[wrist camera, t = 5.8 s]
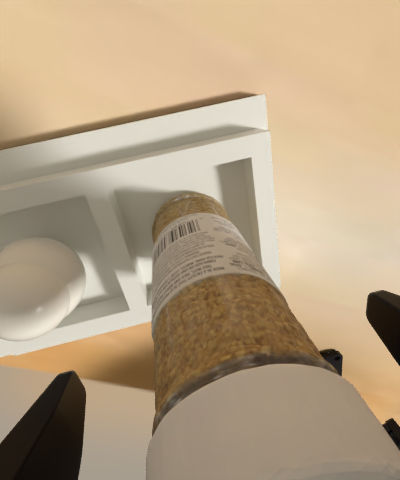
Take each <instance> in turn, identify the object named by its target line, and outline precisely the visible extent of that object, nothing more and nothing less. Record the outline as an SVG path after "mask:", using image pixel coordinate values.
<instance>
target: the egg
mask: <svg viewBox="0 0 400 480" xmlns="http://www.w3.org/2000/svg"><path fill="white" fill-rule="evenodd" d="M85 287H86V271H85V267H84V265H83V262H82V260H81V259H80V257H79V256H78V254H77V253H76V252H75V251H74V250H73V249H72V248H70V247H69V246H68V245H66V244H64V243H62V242H60V241H58V240H55V239H52V238H46V237H30V238H24V239H20V240H17V241H15V242H13V243H10V244H8V245H7V246H5V247H4V248H2V249H1V250H0V339H3V340H7V341H14V342H22V341H29V340H33V339H36V338H39V337H41V336H44V335H45V334H47V333H49V332H50V331H52V330H53V329H54V328H55V327H57V326H58V325H59V324H60V322H61V321H62V320H63V318H65V317H66V316H67V315H69V314H70V313H71V312H72V311H73V310H74V309H75V308H76V306H77V305H78V304H79V302H80V300H81V298H82V296H83V294H84V291H85Z"/></svg>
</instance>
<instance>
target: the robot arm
mask: <svg viewBox="0 0 400 480" xmlns="http://www.w3.org/2000/svg"><path fill="white" fill-rule="evenodd" d="M366 316H367V319H368V321H369V323H370V324H371V326H372V327H373V328H374V330H375V331H376V333H377V334H378V336H379V337H380V339H381V340H382V342H383V343H384V344H385V346H386V347H387V349H388V350H389V352H390V353H391V355H392V356H393V357H394V359H395V360H396V362H397V363H398V364H399V366H400V296H399V295H396V294H393V293H390V292H388V291H384V290H380V291H376V292H372V293H370V294H369V295H368V299H367V308H366ZM321 356H322V357H323V358H324V359H325V360H326V361H327V362H328V363H330V364H331V365H332V366H333V367H334V368H335V369H336V370H337V372H338V374H339V375H340V376H341V375H342V359H343V357H342V355H341V353H340V352H339V351H333V352H329V353H325V354H321ZM85 404H86V391H85V388H84V386H83V384H82V382H81V381H80V379H79V377H78V375H77V374H76V372H75V371H68V372H64V373H61V374H59V375H57V376H56V378H55V379H54V380H53V381H52V382H51V384H50V385H49V386H48V387H47V388H46V390H45V391H44V392H43V393H42V394H41V395H40V397H39V398H38V399H37V400H36V402H35V403H34V404H33V405H32V406H31V407H30V409H29V410H28V411H27V412H26V414H25V415H24V416H23V417H22V418H21V420H20V421H19V422H18V423H17V424H16V425H15V427H14V428H13V429H12V430H11V431H10V433H9V434H8V435H7V436H6V438H5V439H4V440H3V441H2V442H1V444H0V480H78V475H79V470H80V463H81V457H82V447H83V434H84V419H85ZM385 422H386V423H385V424H383V425H382V426H383V427H384V429H385V430H386V432H387V433H388V434H389V436H390V437H391V439H392V440H393V442H394V443H395V445H396V446H397V448H398V449H399V450H400V427H399V425H398V424H397V423H396V422H395V421H394V419H393V418H391V419H389V420H387V421H385Z"/></svg>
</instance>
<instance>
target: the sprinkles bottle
mask: <svg viewBox="0 0 400 480" xmlns="http://www.w3.org/2000/svg"><path fill="white" fill-rule="evenodd" d="M152 238H153V242H154V248H153V253H152V338H153V341H154V353H155V409H156V414H155V418H154V422H153V430H152V439H151V441H150V444H149V447H148V451H147V458H146V480H400V450H399V449H398V448H397V446H396V445H395V443H394V442H393V440H392V439H391V437H390V436H389V434H388V433H387V432H386V430H385V429H384V427H383V426H382V425H381V423H380V422H379V420H378V419H377V418H376V416H375V415H374V414H373V412H372V411H371V410H370V408H369V407H368V405H367V404H366V402H365V401H364V400H363V398H362V397H361V395H360V394H359V392H358V391H357V390H356V389H355V387H354V386H353V385H352V384H351V383H350V382H348V381H347V380H346V379H344V378H343V377H341V376H340V375H339V374H338V372H337V370H336V369H335V368H334V367H333V366H332V365H331V364H330V363H328V362H327V361H326V360H325V359H324V358H323V357H322V356H321V354H320V353H319V351H318V349H317V348H316V346H315V345H314V343H313V342H312V341H311V339H310V338H309V336H308V335H307V333H306V332H305V330H304V328H303V326H302V325H301V324H300V323H299V322H298V321H297V319H296V318H295V316H294V315H293V313H292V312H291V310H290V309H289V307H288V304H287V302H286V300H285V298H284V296H283V295H282V293H281V292H280V290H279V289H278V287H277V286H276V284H275V283H274V282H273V280H272V279H271V277H270V276H269V274H268V273H267V272H266V270H265V269H264V267H263V266H262V264H261V263H260V261H259V260H258V259H257V257H256V256H255V254H254V253H253V251H252V250H251V248H250V247H249V245H248V244H247V242H246V241H245V239H244V238H243V237H242V235H241V234H240V232H239V231H238V229H237V228H236V227H235V226H234V225H233V224H232V223H231V221H230V220H229V217H228V215H227V212H226V210H225V209H224V207H223V206H222V205H221V204H220V203H219V202H218V201H217V200H216V199H214V198H213V197H211V196H208V195H205V194H201V193H184V194H180V195H178V196H176V197H173V198H172V199H170V200H169V201H168V202H166V203H164V204H163V205H162V206H161V208H160V209H159V211H158V212H157V214H156V216H155V218H154V222H153V226H152Z"/></svg>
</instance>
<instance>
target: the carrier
mask: <svg viewBox="0 0 400 480" xmlns="http://www.w3.org/2000/svg"><path fill="white" fill-rule="evenodd" d="M184 193H201V194H205V195H208V196H211V197H213V198H214V199H216V200H217V201H218V202H219V203H220V204H221V205H222V206H223V207H224V209H225V210H226V212H227V215H228V217H229V220H230V221H231V223H232V224H233V225H234V226H235V227H236V228H237V229H238V231H239V232H240V234H241V235H242V237H243V238H244V239H245V241H246V242H247V244H248V245H249V247H250V248H251V250H252V251H253V253H254V254H255V256H256V257H257V259H258V260H259V261H260V263H261V264H262V266H263V267H264V269H265V270H266V272H267V273H268V274H269V276H270V277H271V279H272V280H273V282H274V283H275V284H276V286H277V287H278V289H279V287H280V286H281V282H280V267H279V253H278V239H277V225H276V210H275V196H274V182H273V167H272V153H271V139H270V131H269V130H268V125H267V111H266V97H265V94H261V95H255V96H250V97H246V98H241V99H236V100H232V101H227V102H222V103H218V104H213V105H208V106H204V107H199V108H194V109H190V110H185V111H180V112H176V113H171V114H166V115H162V116H157V117H152V118H148V119H143V120H138V121H134V122H129V123H124V124H120V125H115V126H110V127H106V128H101V129H96V130H92V131H87V132H82V133H78V134H73V135H68V136H64V137H59V138H54V139H50V140H45V141H40V142H36V143H31V144H26V145H22V146H17V147H12V148H8V149H3V150H0V250H1V249H2V248H4V247H5V246H7V245H8V244H10V243H13V242H15V241H17V240H20V239H24V238H30V237H46V238H52V239H55V240H58V241H60V242H62V243H64V244H66V245H68V246H69V247H70V248H72V249H73V250H74V251H75V252H76V253H77V254H78V256H79V257H80V259H81V260H82V262H83V265H84V267H85V271H86V287H85V291H84V294H83V296H82V298H81V300H80V302H79V304H78V305H77V306H76V308H75V309H74V310H73V311H72V312H71V313H70V314H69V315H67V316H66V317H65V318H63V320H62V321H61V322H60V324H59V325H58V326H57V327H55V328H54V329H53V330H52V331H50V332H49V333H47V334H45V335H44V336H41V337H39V338H36V339H33V340H29V341H22V342H14V341H7V340H3V339H0V357H3V356H7V355H11V354H13V355H14V356H16V355H20V354H24V353H28V352H32V351H36V350H40V349H43V348H47V347H51V346H55V345H59V344H63V343H67V342H71V341H75V340H79V339H83V338H87V337H91V336H95V335H99V334H103V333H106V332H110V331H114V330H118V329H122V328H126V327H130V326H134V325H138V324H142V323H146V322H150V321H152V253H153V248H154V242H153V238H152V226H153V222H154V218H155V216H156V214H157V212H158V211H159V209H160V208H161V206H162V205H163V204H164V203H166V202H168V201H169V200H170V199H172V198H173V197H176V196H178V195H180V194H184Z"/></svg>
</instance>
